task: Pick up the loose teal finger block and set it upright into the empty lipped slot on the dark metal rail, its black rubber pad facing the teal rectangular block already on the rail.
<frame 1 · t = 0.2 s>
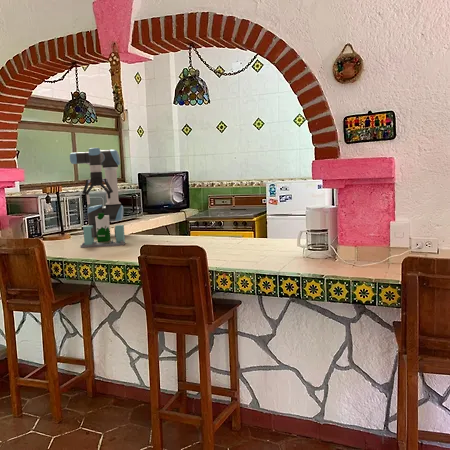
hand: (98, 204, 318), 27 cm above the countertop, fingers open, 13 cm apart
rail: (103, 245, 318), on the countertop
milk carton: (104, 241, 339), on the countertop
teal rectangular block: (89, 244, 318), resting on rail
finger free: (120, 243, 326), on the countertop
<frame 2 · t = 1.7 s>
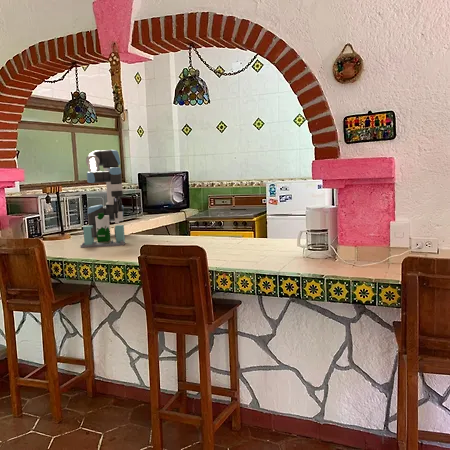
hand: (119, 222, 324), 14 cm above the countertop, fingers open, 13 cm apart
nothing on the countertop moved.
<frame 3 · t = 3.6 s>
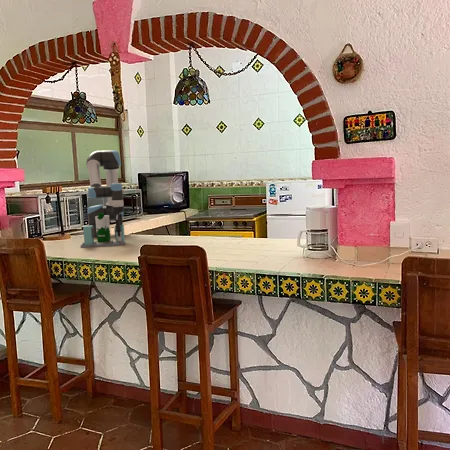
hand: (120, 240, 326), 2 cm above the countertop, fingers closed on finger free, 5 cm apart
finger free: (120, 243, 326), on the countertop, touching gripper
everything else where it was.
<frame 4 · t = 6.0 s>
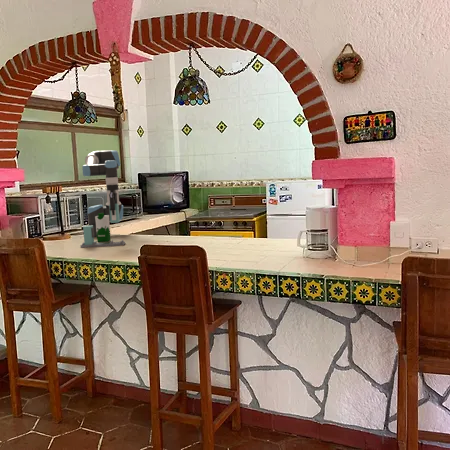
hand: (115, 219, 316), 17 cm above the countertop, fingers closed on finger free, 5 cm apart
finger free: (115, 222, 316), point 15 cm above the countertop, touching gripper
everything else where it was.
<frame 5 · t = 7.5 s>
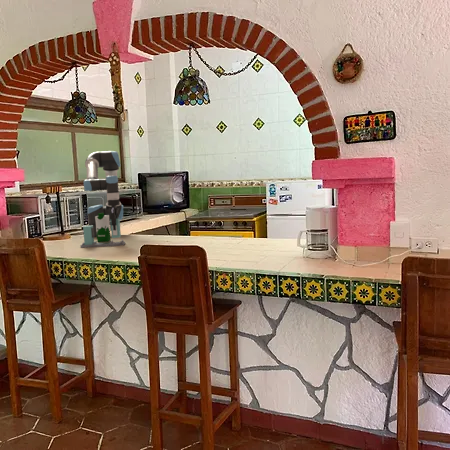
hand: (116, 234, 317), 7 cm above the countertop, fingers closed on finger free, 5 cm apart
finger free: (116, 237, 318), point 5 cm above the countertop, touching gripper
everything else where it was.
when the fingers open (6 cm above the countertop, at t = 8.5 s): finger free drops 2 cm, resting on rail.
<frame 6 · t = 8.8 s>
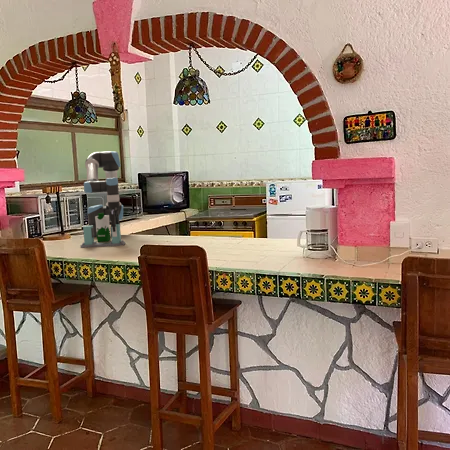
hand: (116, 235, 318), 6 cm above the countertop, fingers open, 8 cm apart
finger free: (116, 242, 318), point 1 cm above the countertop, touching rail
everything else where it was.
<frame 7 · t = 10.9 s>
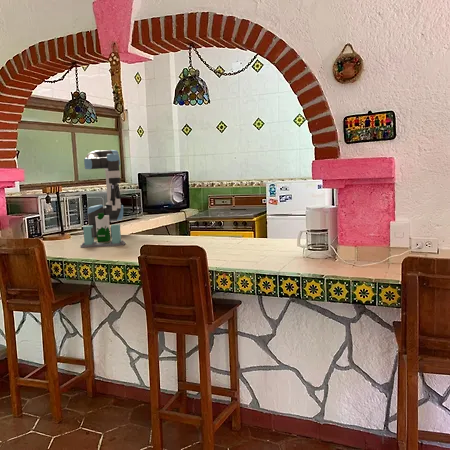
hand: (116, 209, 320), 23 cm above the countertop, fingers open, 13 cm apart
nothing on the countertop moved.
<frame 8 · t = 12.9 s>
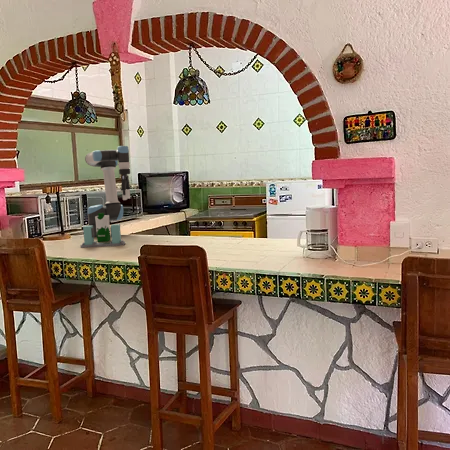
hand: (126, 199, 335), 29 cm above the countertop, fingers open, 13 cm apart
nothing on the countertop moved.
at the end: finger free 0.0 cm from the target spot on the rail, point 1.5 cm above the rail's base; finger free tilted 0°; the gripper is holding nothing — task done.
